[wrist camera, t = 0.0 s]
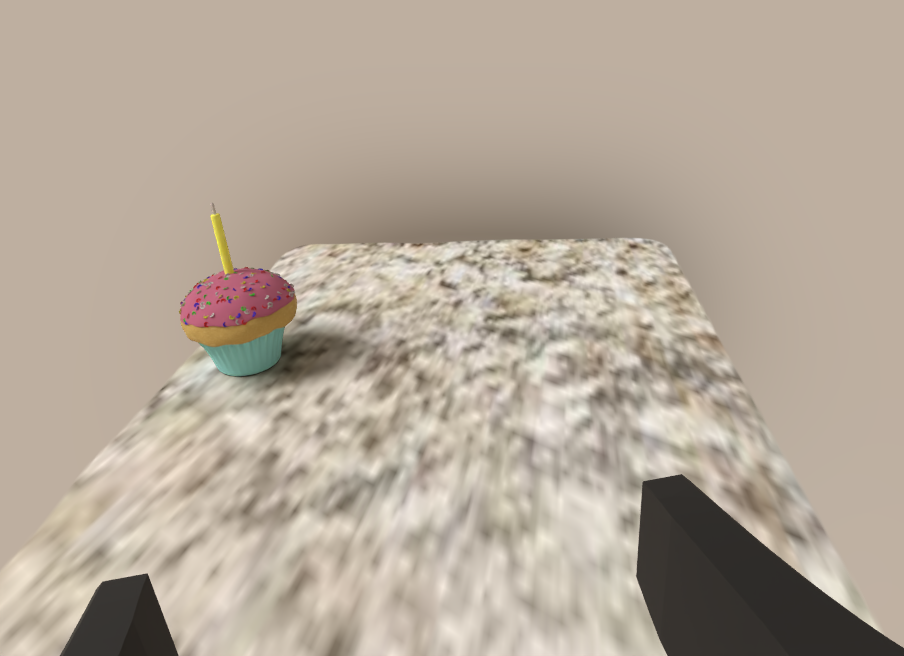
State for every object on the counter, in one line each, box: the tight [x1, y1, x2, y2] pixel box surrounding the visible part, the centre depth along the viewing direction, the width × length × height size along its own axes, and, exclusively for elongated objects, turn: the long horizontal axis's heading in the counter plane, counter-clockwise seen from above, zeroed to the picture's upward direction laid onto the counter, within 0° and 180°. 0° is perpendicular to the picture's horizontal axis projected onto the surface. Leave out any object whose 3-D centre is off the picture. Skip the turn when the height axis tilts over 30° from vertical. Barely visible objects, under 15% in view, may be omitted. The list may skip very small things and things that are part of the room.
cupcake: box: [179, 203, 297, 376], centre depth 62 cm, size 9×8×12 cm
